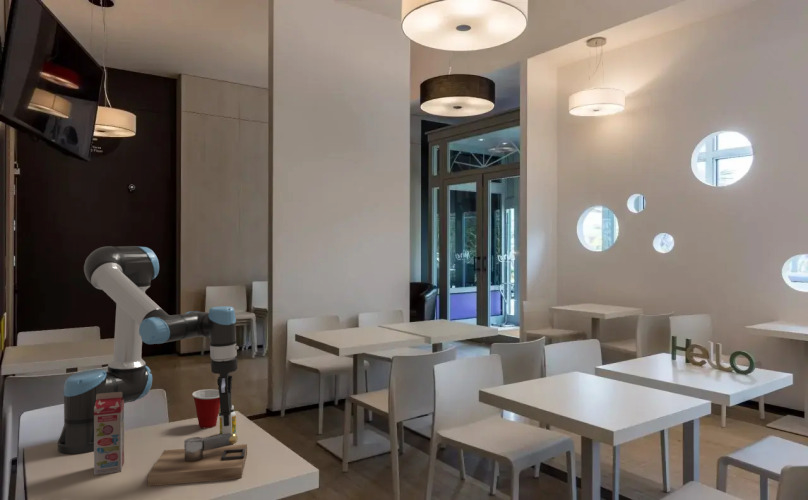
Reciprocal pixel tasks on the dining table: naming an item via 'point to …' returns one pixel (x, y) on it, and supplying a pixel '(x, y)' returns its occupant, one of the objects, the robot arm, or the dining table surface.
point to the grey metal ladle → (206, 445)
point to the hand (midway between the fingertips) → (227, 435)
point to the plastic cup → (207, 407)
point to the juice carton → (108, 433)
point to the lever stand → (199, 466)
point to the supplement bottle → (232, 422)
